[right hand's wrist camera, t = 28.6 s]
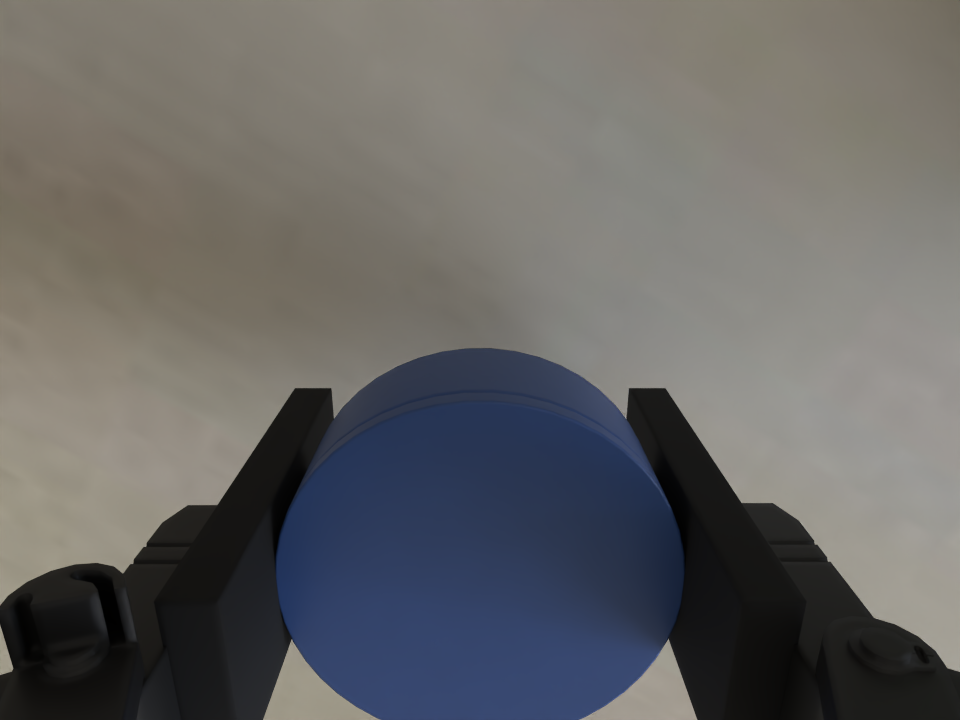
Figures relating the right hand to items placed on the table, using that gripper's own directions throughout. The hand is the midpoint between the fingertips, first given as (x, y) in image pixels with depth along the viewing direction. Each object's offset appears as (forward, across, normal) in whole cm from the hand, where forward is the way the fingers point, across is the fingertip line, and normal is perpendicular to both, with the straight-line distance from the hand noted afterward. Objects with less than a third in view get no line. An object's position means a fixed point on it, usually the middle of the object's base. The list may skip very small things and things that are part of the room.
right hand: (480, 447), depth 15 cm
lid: (-4, 0, 0) cm, 4 cm away
